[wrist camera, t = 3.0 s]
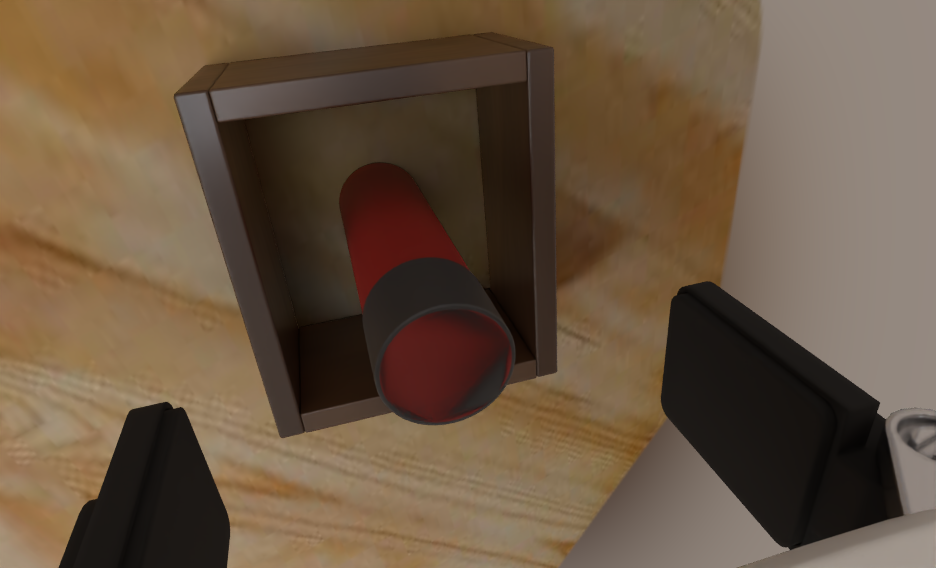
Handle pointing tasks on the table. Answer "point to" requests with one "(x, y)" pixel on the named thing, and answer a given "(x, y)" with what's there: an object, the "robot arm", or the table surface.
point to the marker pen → (420, 304)
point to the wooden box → (357, 82)
